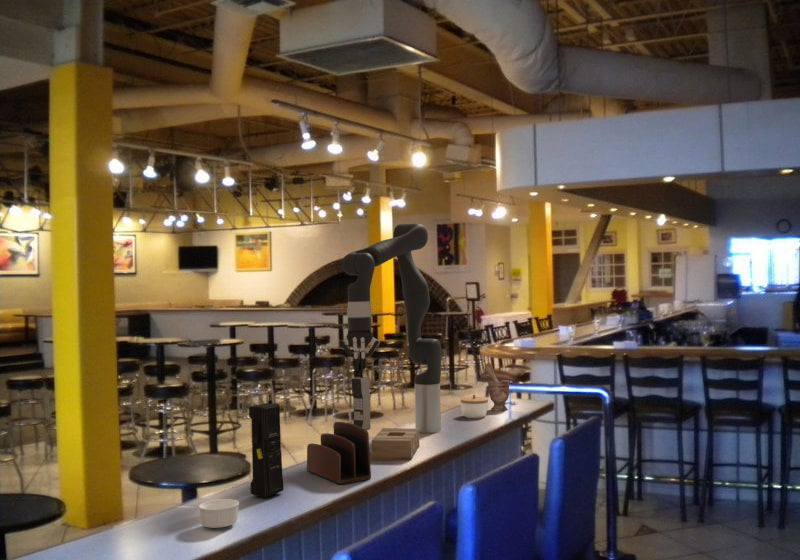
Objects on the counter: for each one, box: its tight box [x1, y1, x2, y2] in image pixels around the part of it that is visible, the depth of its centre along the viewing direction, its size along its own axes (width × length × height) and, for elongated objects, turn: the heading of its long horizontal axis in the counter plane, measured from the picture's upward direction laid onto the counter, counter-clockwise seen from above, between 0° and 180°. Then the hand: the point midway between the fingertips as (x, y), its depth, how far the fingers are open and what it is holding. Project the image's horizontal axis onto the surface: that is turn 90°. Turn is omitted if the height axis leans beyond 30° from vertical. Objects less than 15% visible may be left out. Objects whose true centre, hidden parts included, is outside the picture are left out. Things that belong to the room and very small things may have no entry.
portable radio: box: [248, 393, 284, 498], centre depth 199 cm, size 8×6×25 cm
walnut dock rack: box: [371, 427, 420, 461], centre depth 245 cm, size 20×12×6 cm, turn 171°
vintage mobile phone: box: [350, 350, 371, 431], centre depth 247 cm, size 4×5×25 cm
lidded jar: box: [460, 394, 489, 419], centre depth 306 cm, size 11×11×9 cm
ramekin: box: [198, 498, 240, 529], centre depth 175 cm, size 9×9×4 cm
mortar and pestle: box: [484, 362, 510, 412], centre depth 321 cm, size 12×9×20 cm
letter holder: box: [306, 421, 372, 485], centre depth 218 cm, size 10×20×14 cm, turn 33°
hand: (360, 370), depth 247 cm, fingers closed
